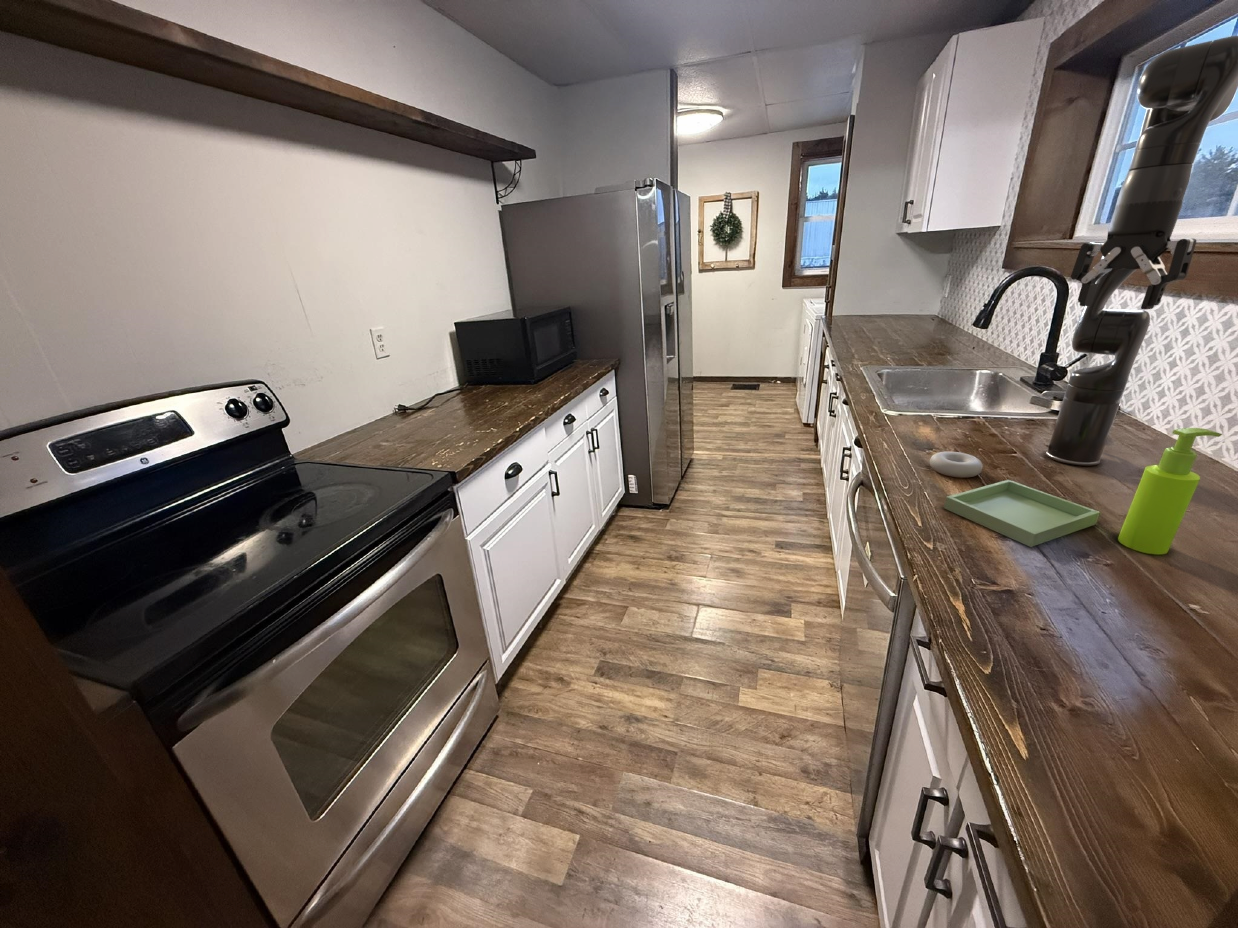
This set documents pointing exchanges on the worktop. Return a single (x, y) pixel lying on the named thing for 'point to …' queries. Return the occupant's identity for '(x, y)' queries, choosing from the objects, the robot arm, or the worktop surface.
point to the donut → (956, 464)
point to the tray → (1021, 512)
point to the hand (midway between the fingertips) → (1114, 307)
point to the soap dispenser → (1163, 496)
